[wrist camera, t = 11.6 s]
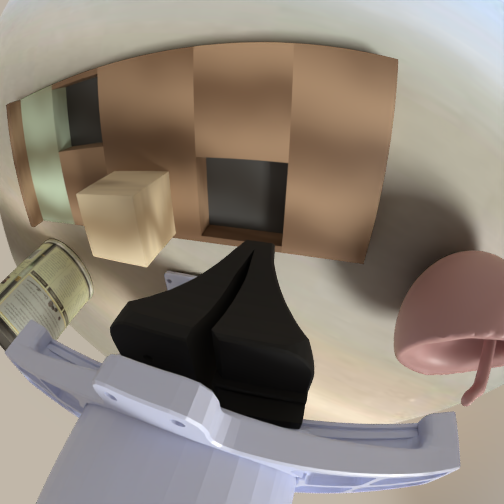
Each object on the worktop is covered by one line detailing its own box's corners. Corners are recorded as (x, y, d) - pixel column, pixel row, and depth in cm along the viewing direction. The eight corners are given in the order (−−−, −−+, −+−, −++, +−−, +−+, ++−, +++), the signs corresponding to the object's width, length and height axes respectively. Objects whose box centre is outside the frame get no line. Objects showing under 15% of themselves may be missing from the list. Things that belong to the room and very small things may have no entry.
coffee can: (85, 310, 35) (33, 379, 24) (39, 263, 33) (-19, 324, 21) (103, 280, 30) (34, 366, 18) (48, 223, 27) (-30, 293, 16)
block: (175, 233, 21) (146, 267, 17) (125, 226, 22) (93, 256, 18) (168, 171, 18) (132, 196, 15) (114, 171, 19) (76, 194, 15)
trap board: (360, 249, 20) (365, 276, 18) (51, 211, 26) (31, 226, 23) (389, 62, 13) (405, 57, 10) (30, 97, 18) (6, 105, 15)
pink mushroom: (362, 312, 24) (366, 427, 14) (428, 198, 17) (502, 308, 8) (450, 336, 23) (471, 429, 14) (516, 249, 16) (573, 340, 7)
